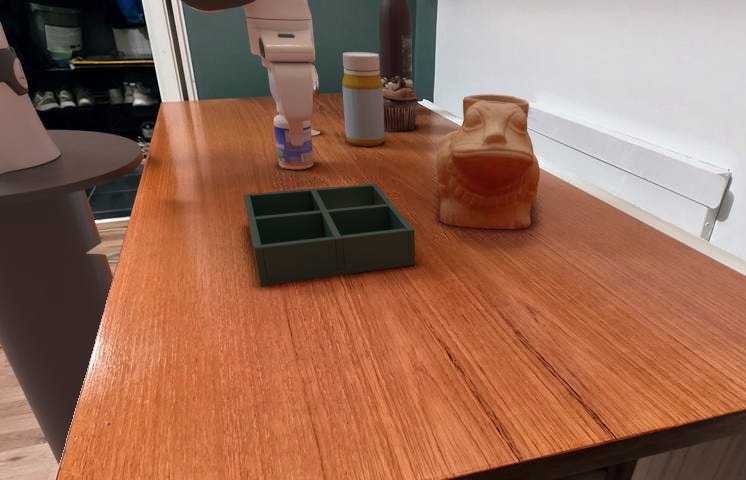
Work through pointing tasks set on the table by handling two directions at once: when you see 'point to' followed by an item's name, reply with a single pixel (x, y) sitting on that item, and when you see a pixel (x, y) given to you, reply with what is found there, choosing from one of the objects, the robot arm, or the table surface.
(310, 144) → the pill bottle
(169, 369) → the table surface
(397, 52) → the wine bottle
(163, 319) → the table surface
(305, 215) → the organiser
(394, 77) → the cupcake
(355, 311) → the table surface
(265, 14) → the robot arm
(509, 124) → the ceramic vessel
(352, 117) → the bottle
